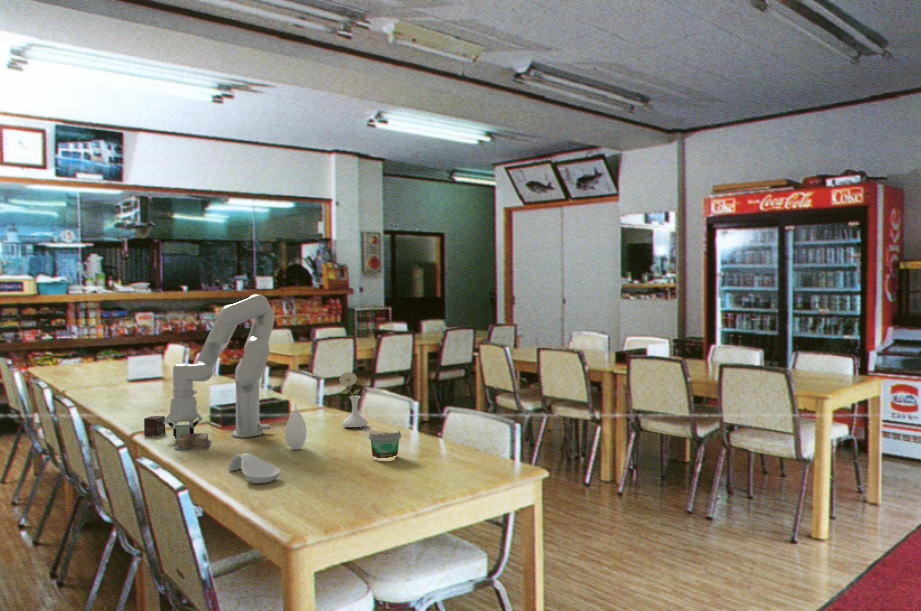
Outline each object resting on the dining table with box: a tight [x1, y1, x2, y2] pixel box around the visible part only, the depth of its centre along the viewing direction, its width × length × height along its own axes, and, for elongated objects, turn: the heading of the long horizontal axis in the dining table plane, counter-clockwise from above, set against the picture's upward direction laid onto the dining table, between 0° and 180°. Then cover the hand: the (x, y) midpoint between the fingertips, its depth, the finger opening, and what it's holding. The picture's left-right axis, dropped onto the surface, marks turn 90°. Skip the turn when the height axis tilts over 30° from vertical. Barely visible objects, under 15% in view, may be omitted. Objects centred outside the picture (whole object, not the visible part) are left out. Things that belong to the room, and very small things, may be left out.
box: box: [143, 415, 166, 437], centre depth 277 cm, size 6×6×7 cm
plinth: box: [174, 432, 212, 451], centre depth 259 cm, size 12×12×4 cm
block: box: [175, 423, 190, 442], centre depth 268 cm, size 5×5×6 cm
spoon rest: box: [228, 452, 281, 485], centre depth 218 cm, size 24×12×7 cm, turn 49°
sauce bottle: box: [284, 404, 307, 450], centre depth 254 cm, size 8×8×18 cm
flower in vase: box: [338, 371, 368, 428], centre depth 293 cm, size 13×11×25 cm
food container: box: [368, 430, 402, 458], centre depth 240 cm, size 12×6×10 cm, turn 118°
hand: (183, 437), depth 268 cm, fingers closed on block, 5 cm apart
